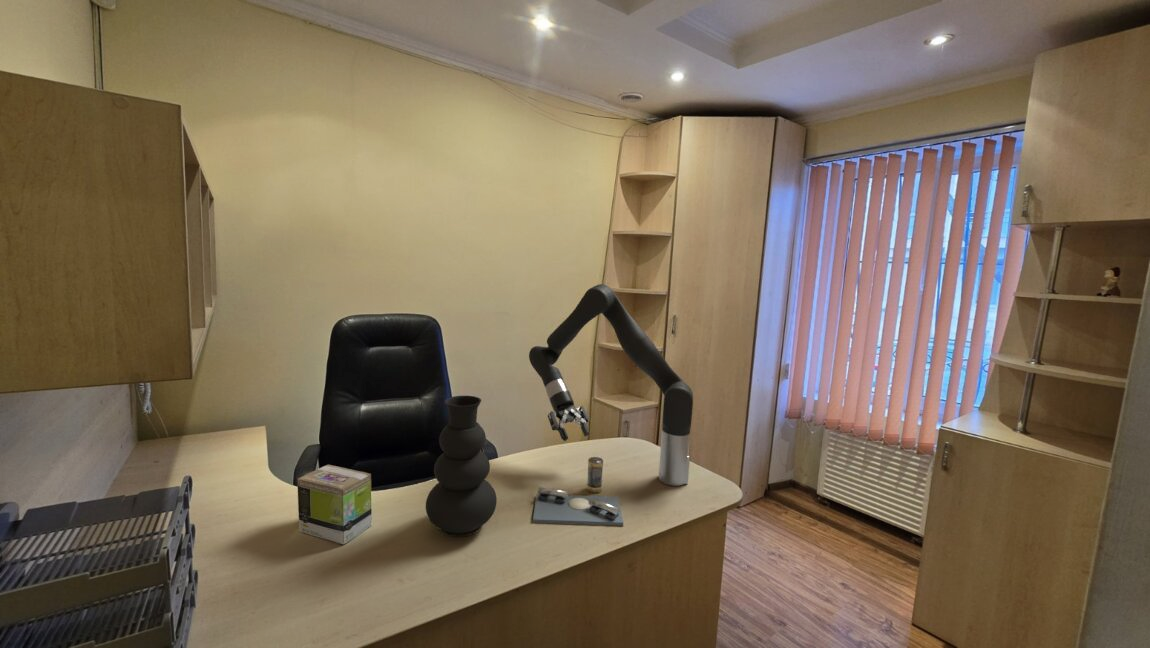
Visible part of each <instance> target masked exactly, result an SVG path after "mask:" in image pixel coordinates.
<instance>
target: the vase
mask: <svg viewBox="0 0 1150 648" xmlns="http://www.w3.org/2000/svg"><path fill="white" fill-rule="evenodd" d="M481 403H482V398H480V397H478V396H474V395H454V396H451V397H448V398H446V399H445V400H444V404H445V406H446V407H447V410H448V423H447V424H446V425H445V426H444V428H443V429H442V430H441V432H440V434H439V437H438V438H439V439H438V441H439V442H438V443H439V446H440V448H441V450H442V451H443V453H442V454H441V455H439V457H437V459H436V461H435V463H434V466H433V467H434V468H433V473H434V477H435V479H436V480H437V481H438V483H436V484H435V485H434V486H433V487H432V489H431V490H430V491H429V493H428V495H427V498H426V500H425V512H426V515H427V517H428V520H429V521H430V523H431V524H433V526H434V527H436V528H437V529H439V530H440V531H441V532H442V534H445V535H447V536H449V537H466V536H469V535H473V534H475V533H476V532H478V531H479V530H481V529H482V527H483V526H484V525H486V523H487V522H488V521H489V520H490V519H491V518H492V516H493V515H494V514H495V511H496V508H497V502H498V501H497V500H498V499H497V493H496V491H495V488H494V487H493V485H492V484H491V483H490V482H488V481H487V480H486V478H487V477H488V476H489V474H490V470H491V463H490V461H489V458H488V456H487V455H486V454H485V453H484V452H483V451H482V449H483V448H484V446H485V444H486V441H487V440H486V438H487V437H486V432H485V430H484V428H483V427H482V426H481V425H480V423H479V422H477V420H478V419H477V417H478V408H479V406H480V405H481Z"/></svg>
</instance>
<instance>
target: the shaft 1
mask: <svg viewBox="0 0 1150 648" xmlns="http://www.w3.org/2000/svg"><path fill="white" fill-rule="evenodd" d="M537 494H540V495H539V497H538V500H540V501H547V499H548V498H549V496H555V497H556V498H555V503H557V504H563V503H564V501H565V499H567V498H568V495H570V493H569V491H566V490H562V489H557V488H556V489H555V488H549V487H543V486H538V489H537Z"/></svg>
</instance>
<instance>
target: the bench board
mask: <svg viewBox="0 0 1150 648" xmlns="http://www.w3.org/2000/svg"><path fill="white" fill-rule="evenodd" d="M539 495H540V494H538V493H536V497H535V504H534V511H533V518H532V523H533V524H557V525H559V524H560V525H562V524H563V525H586V526H587V525H588V526H591V525H592V526H615V527H617V526H618V527H623V526H624V519H623V513H622V509H621V503H620V500H619V496H600V495H597V496H596V495H572V494H569V495H568V498H567V499H565V501H564V503H563V504H557V503H555V498H556V497H555V496H549V498H548V499H547V501H540V500H538V497H539ZM590 498H594V499H596V500H599V501H601V502H604V503H607V504H609V505H612V506H615V507H617V508H619V516H618V517H616V518H615V519H614V520H613V521H611V520H608V519H606V518H605V514H606V513H607V511H604V510H602V511H601V512H600V513H598V514H597V515H596V514H593V513H591V512H590V508H591V507H592V506H591V505H589V499H590Z"/></svg>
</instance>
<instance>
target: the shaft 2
mask: <svg viewBox="0 0 1150 648" xmlns="http://www.w3.org/2000/svg"><path fill="white" fill-rule="evenodd" d="M589 505H591V506H592V507H591V508H590V512H591V513H593V514H596V515H597V514H598V513H600V512H601V511H602V510H604V511H607V513H606V514H605V518H606V519H608V520H611V521H613V520H614V519H615V518H616V517H618V516H619V508H617V507H615V506H612V505H609V504H607V503H604V502H601V501H599V500H596V499H594V498H590V499H589Z"/></svg>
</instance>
